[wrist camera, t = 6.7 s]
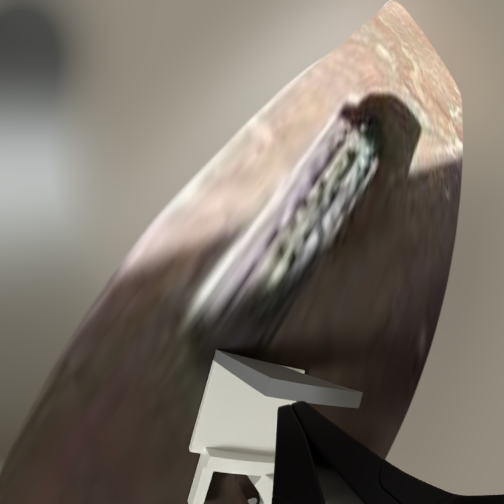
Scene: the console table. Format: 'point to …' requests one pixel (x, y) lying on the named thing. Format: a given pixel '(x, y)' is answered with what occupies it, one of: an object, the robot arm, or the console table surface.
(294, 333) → the console table surface
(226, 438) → the white bracket
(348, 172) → the console table surface
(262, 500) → the milkshake
